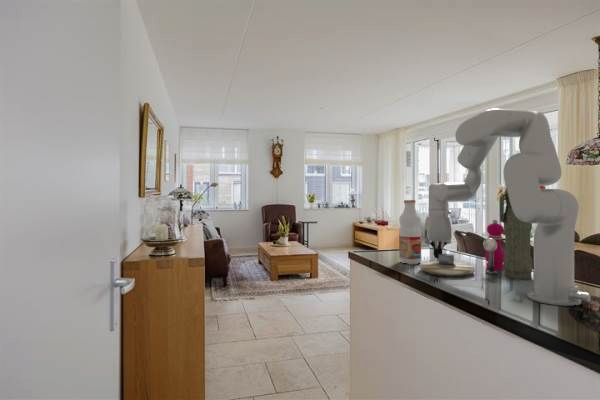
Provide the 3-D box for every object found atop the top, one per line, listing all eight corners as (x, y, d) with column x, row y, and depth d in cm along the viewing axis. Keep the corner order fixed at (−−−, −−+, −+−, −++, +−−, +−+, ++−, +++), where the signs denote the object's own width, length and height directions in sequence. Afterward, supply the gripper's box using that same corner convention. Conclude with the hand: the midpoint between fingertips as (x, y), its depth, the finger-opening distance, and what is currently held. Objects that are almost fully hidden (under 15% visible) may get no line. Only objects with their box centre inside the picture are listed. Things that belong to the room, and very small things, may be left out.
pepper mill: (508, 268, 149) (508, 219, 149) (499, 270, 145) (499, 220, 144) (491, 266, 155) (491, 218, 154) (481, 268, 151) (481, 219, 150)
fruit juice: (402, 260, 170) (402, 199, 170) (423, 262, 165) (423, 199, 165) (396, 263, 162) (396, 200, 162) (418, 265, 157) (417, 200, 157)
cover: (456, 268, 139) (456, 256, 139) (437, 267, 141) (437, 255, 141) (454, 265, 145) (454, 253, 145) (436, 264, 147) (436, 253, 147)
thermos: (542, 279, 129) (542, 180, 129) (508, 280, 129) (508, 180, 129) (526, 274, 138) (526, 181, 138) (495, 274, 138) (494, 181, 138)
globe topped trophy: (500, 273, 139) (500, 238, 139) (494, 275, 137) (494, 239, 137) (488, 271, 144) (488, 237, 144) (482, 272, 142) (481, 237, 142)
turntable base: (478, 273, 140) (478, 271, 140) (449, 278, 132) (449, 276, 132) (443, 266, 154) (443, 264, 154) (415, 270, 146) (415, 268, 146)
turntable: (478, 276, 130) (478, 264, 130) (419, 273, 137) (419, 261, 137) (471, 265, 149) (471, 255, 149) (419, 263, 156) (419, 253, 156)
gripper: (451, 212, 155) (451, 256, 156) (416, 213, 154) (416, 256, 155) (460, 214, 148) (459, 259, 148) (424, 214, 147) (423, 260, 147)
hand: (437, 257), depth 151 cm, fingers closed
